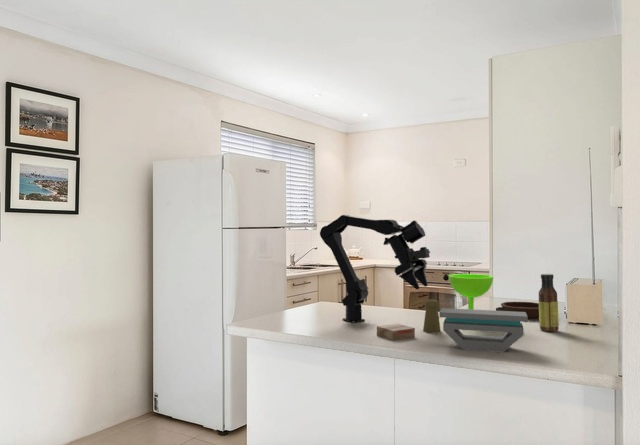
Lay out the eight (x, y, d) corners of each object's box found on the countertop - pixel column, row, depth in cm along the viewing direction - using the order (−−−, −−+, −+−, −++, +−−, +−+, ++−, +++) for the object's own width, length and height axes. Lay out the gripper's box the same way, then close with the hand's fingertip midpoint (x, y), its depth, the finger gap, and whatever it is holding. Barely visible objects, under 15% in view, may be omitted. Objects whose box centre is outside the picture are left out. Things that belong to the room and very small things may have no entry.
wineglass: (440, 324, 195) (440, 276, 195) (461, 318, 207) (461, 273, 207) (481, 330, 184) (481, 279, 184) (500, 323, 196) (500, 275, 196)
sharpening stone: (439, 347, 159) (439, 312, 159) (441, 342, 167) (441, 308, 167) (527, 354, 152) (527, 316, 152) (525, 347, 159) (525, 312, 159)
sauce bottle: (557, 329, 186) (557, 273, 186) (559, 333, 180) (559, 275, 180) (537, 328, 188) (537, 272, 188) (539, 331, 182) (539, 274, 182)
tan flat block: (376, 335, 177) (376, 326, 177) (397, 332, 181) (397, 323, 181) (393, 340, 169) (393, 331, 169) (415, 337, 173) (415, 328, 173)
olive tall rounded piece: (440, 333, 180) (440, 301, 180) (422, 332, 181) (422, 300, 181) (440, 329, 186) (440, 298, 186) (423, 329, 187) (423, 298, 187)
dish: (556, 322, 200) (556, 309, 200) (495, 319, 207) (495, 306, 207) (551, 314, 217) (551, 302, 217) (495, 311, 223) (495, 300, 223)
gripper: (410, 239, 181) (433, 279, 177) (428, 238, 198) (448, 274, 194) (385, 255, 186) (406, 294, 182) (404, 252, 202) (423, 288, 198)
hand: (422, 287), depth 189 cm, fingers open, 9 cm apart
